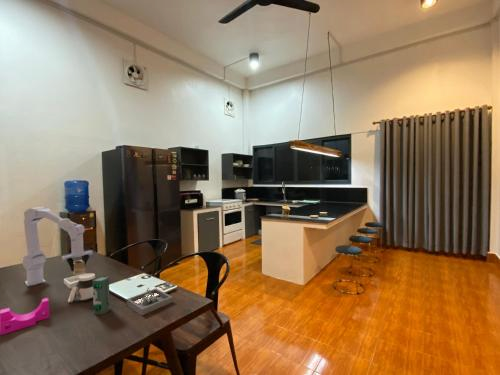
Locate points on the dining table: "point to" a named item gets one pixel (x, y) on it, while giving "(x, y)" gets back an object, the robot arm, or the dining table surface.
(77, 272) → the pine crate
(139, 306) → the grey square tray
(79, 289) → the spread jar
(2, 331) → the magenta saddle bracket
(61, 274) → the dining table surface
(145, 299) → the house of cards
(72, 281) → the white square tray
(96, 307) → the can
